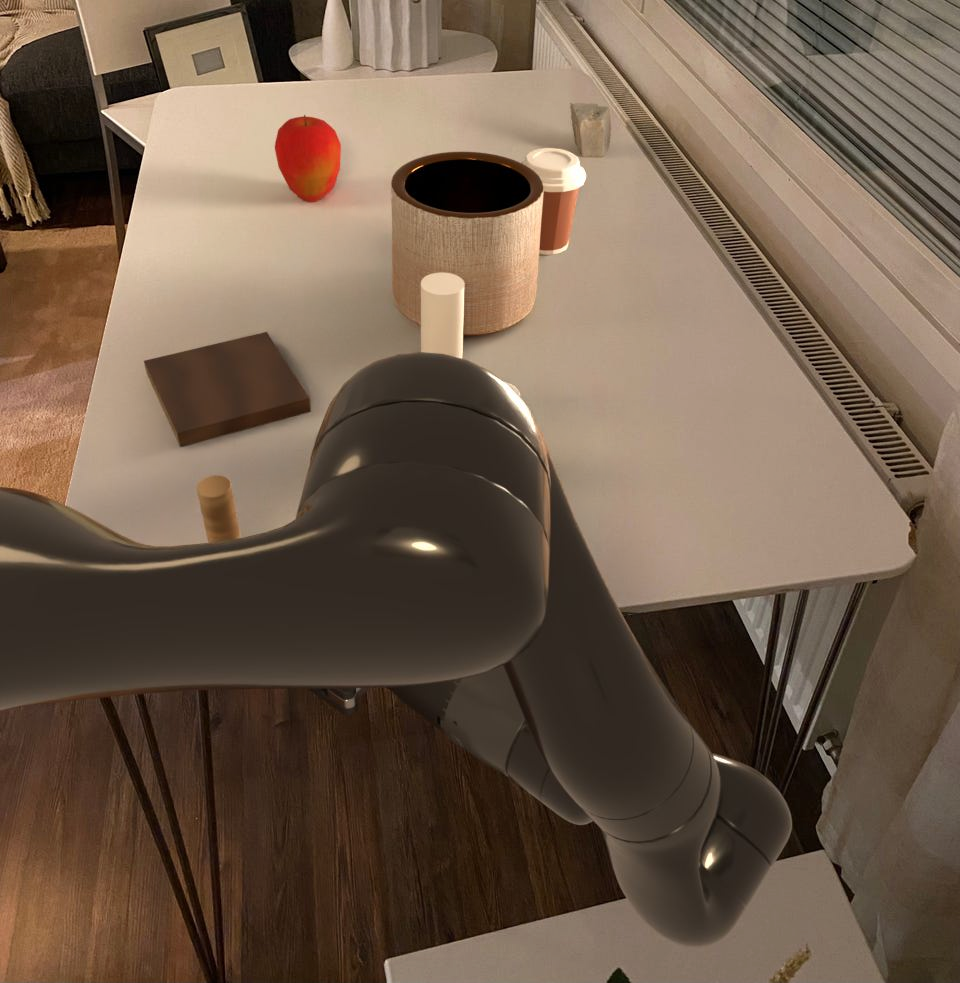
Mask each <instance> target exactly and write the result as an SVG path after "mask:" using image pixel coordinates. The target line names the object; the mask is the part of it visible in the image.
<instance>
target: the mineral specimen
mask: <svg viewBox="0 0 960 983" xmlns="http://www.w3.org/2000/svg"><path fill="white" fill-rule="evenodd" d="M569 108H570V114H571V116H570V119H571V126H572V130H573V131H572V133H573V138H574V139H573V141H574V144H575V146H576V147H577V149H578V151H579V153H580V155H581V157H583V158H595V157H598V158H603V157H604V156H605V155H606V154H607V152H608V150H609V147H610V143H611V135H612V134H611V132H612V121H611V119H612V118H611V111H610V108H609V107H608V106H605V105H603V106H601V105H600V106H599V105H598V104H597V103H586V102H585V103H582V102H581V103H580V102H575V103H571V102H570V107H569Z"/></svg>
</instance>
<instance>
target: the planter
mask: <svg viewBox="0 0 960 983" xmlns="http://www.w3.org/2000/svg"><path fill="white" fill-rule="evenodd" d="M543 193H544V186H543V182H542V180H541V178H540V177H539V175H538V174H537V173H536V172H535V171H533V170H532V169H531V168H529V167H528V166H526V165H524V164H522V162H520V161H517V160H515V159H512V158H509V157H506V156H502V155H498V154H495V153H487V152H478V151H447V152H446V151H445V152H437V153H432V154H427V155H424V156H419V157H417V158H415V159H413V160H410V161H408V162H406V163H404V164H403V165H402V166H400V167H399V168H398V169H396V171H395V172H394V174H393V175H392V178H391V182H390V197H391V199H390V200H391V257H392V258H391V266H392V267H391V272H392V273H391V282H392V284H391V285H392V295H393V300H394V303H395V306H396V307H397V309H398V310H399V312H400V313H401V314H402V315H403V316H405V317H406V318H407V319H409V320H410V321H412V322H413V323H415V324H417V325H418V326H421V281H422V279H423V278H424V277H425V276H427V275H430V274H433V273H442V272H443V273H451V274H454V275H457V276H459V277H460V278H462V279H463V281H464V284H465V285H464V318H463V336H481V335H482V336H483V335H486V334H493V333H497V332H500V331H503V330H506V329H509V328H510V327H512V326H513V327H514V325H516V324H518V323H520V322H521V321H523V320H524V319H525V318H526V317H527V316H528V315H529V314H530V313H531V312H532V310H533V308H534V306H535V303H536V298H537V291H538V290H537V289H538V277H539V276H538V275H539V260H540V254H539V247H540V232H541V219H542V206H543Z"/></svg>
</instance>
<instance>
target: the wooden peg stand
mask: <svg viewBox="0 0 960 983" xmlns="http://www.w3.org/2000/svg"><path fill="white" fill-rule="evenodd" d="M196 492H197V497H198V503H199V507H200V511H201V515H202V522H203V525H204V530H205V535H206V539H207V543H211V542H220V541H226V540H232V539H238V538H242V535H241V531H240V525H239V520H238V519H239V518H238V515H237V509H236V504H235V497H234V492H233V487H232V482H231V481H230V479H229V478H228V477H226V476H224V475H219V474H218V475H217V474H213V475H209V476H207V477H204V478H202V479H201V480H200V481H199V482H198V483H197V486H196Z"/></svg>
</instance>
